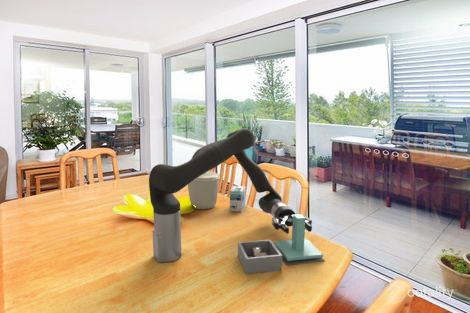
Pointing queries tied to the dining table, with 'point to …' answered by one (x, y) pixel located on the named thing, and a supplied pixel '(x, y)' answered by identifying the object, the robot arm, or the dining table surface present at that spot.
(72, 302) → the dining table surface
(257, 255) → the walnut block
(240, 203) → the light bulb box
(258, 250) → the metal spool
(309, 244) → the lid
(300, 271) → the dining table surface
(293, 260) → the mat
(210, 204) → the canister
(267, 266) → the tub
